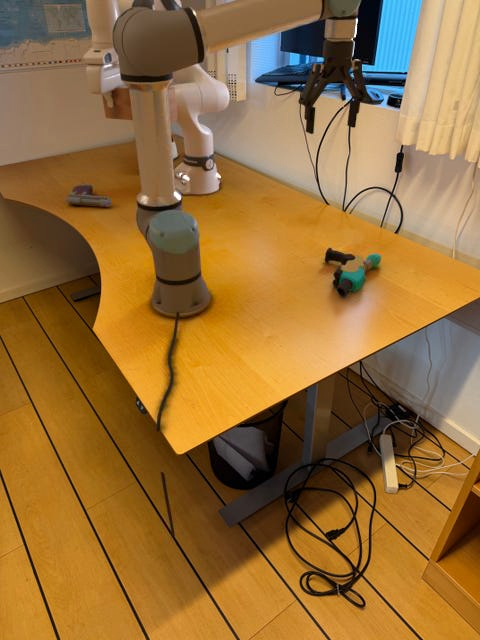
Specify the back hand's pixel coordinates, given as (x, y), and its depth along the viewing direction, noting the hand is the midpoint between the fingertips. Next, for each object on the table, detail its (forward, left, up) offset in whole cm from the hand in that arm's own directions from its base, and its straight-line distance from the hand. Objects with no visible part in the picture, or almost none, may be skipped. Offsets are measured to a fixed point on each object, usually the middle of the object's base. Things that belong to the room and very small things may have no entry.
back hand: (117, 104), depth 145 cm
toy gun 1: (-27, -1, -38) cm, 47 cm away
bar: (+7, +3, -4) cm, 9 cm away
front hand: (+58, +31, -3) cm, 66 cm away
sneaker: (-45, +43, -38) cm, 73 cm away
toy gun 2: (+75, +21, -38) cm, 86 cm away
